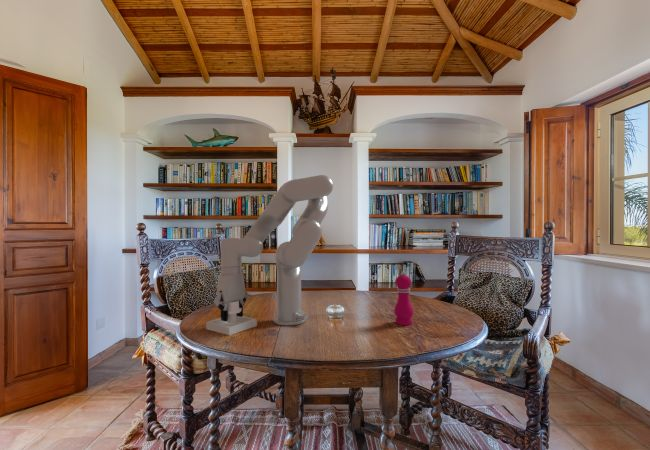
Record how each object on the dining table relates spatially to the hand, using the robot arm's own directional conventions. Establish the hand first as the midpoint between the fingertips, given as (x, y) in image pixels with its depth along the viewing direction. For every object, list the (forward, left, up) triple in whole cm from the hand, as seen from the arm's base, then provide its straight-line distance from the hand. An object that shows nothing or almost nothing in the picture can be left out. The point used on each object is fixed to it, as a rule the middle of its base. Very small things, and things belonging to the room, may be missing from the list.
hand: (232, 318), depth 128 cm
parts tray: (0, 0, -4) cm, 4 cm away
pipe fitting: (0, 0, -2) cm, 2 cm away
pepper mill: (-52, -40, -4) cm, 66 cm away
